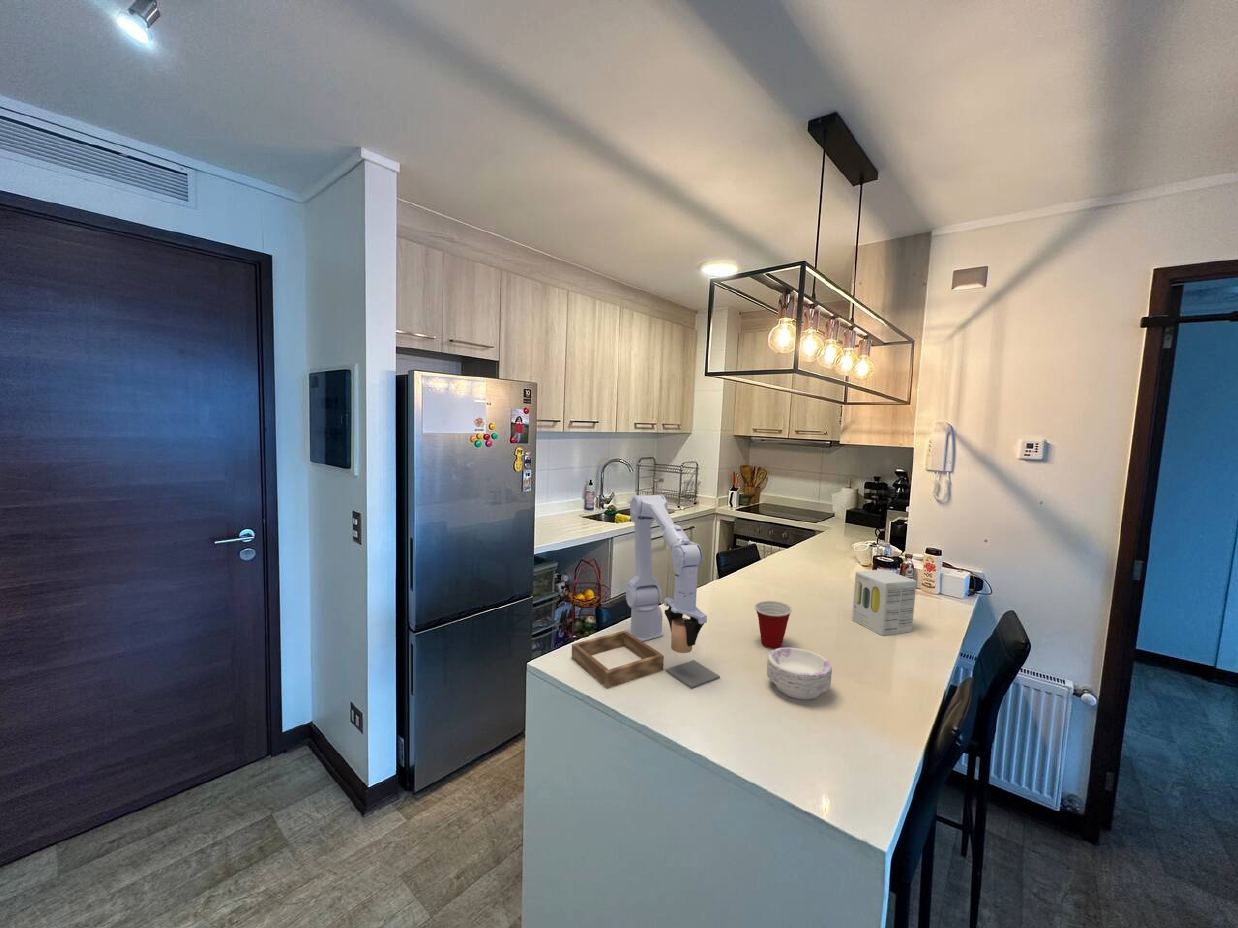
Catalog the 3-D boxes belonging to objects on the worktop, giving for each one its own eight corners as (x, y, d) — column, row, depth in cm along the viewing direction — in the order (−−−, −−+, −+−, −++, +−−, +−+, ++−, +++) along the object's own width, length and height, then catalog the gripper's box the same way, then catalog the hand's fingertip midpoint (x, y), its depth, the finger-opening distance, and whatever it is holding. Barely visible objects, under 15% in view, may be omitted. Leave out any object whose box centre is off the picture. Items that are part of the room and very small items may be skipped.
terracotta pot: (684, 641, 131) (685, 615, 131) (696, 650, 126) (697, 623, 126) (667, 645, 129) (667, 619, 128) (678, 654, 124) (679, 627, 123)
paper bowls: (776, 668, 133) (778, 640, 132) (835, 687, 124) (838, 657, 124) (757, 692, 121) (759, 661, 120) (821, 715, 112) (824, 682, 111)
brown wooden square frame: (624, 643, 145) (625, 630, 144) (663, 669, 130) (663, 655, 130) (571, 658, 135) (571, 644, 134) (606, 688, 120) (607, 672, 120)
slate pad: (693, 661, 135) (693, 659, 135) (719, 678, 127) (720, 675, 127) (665, 671, 129) (665, 669, 129) (691, 688, 121) (691, 686, 121)
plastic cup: (745, 639, 151) (747, 601, 150) (773, 634, 154) (776, 598, 153) (767, 655, 140) (769, 615, 139) (797, 650, 144) (800, 611, 143)
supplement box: (850, 620, 169) (854, 570, 167) (880, 616, 173) (884, 568, 171) (882, 636, 156) (886, 583, 155) (913, 632, 160) (917, 580, 159)
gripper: (656, 584, 130) (654, 633, 131) (693, 601, 118) (690, 655, 119) (676, 580, 134) (674, 628, 135) (713, 596, 122) (711, 648, 123)
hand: (683, 640), depth 128 cm, fingers closed on terracotta pot, 5 cm apart
